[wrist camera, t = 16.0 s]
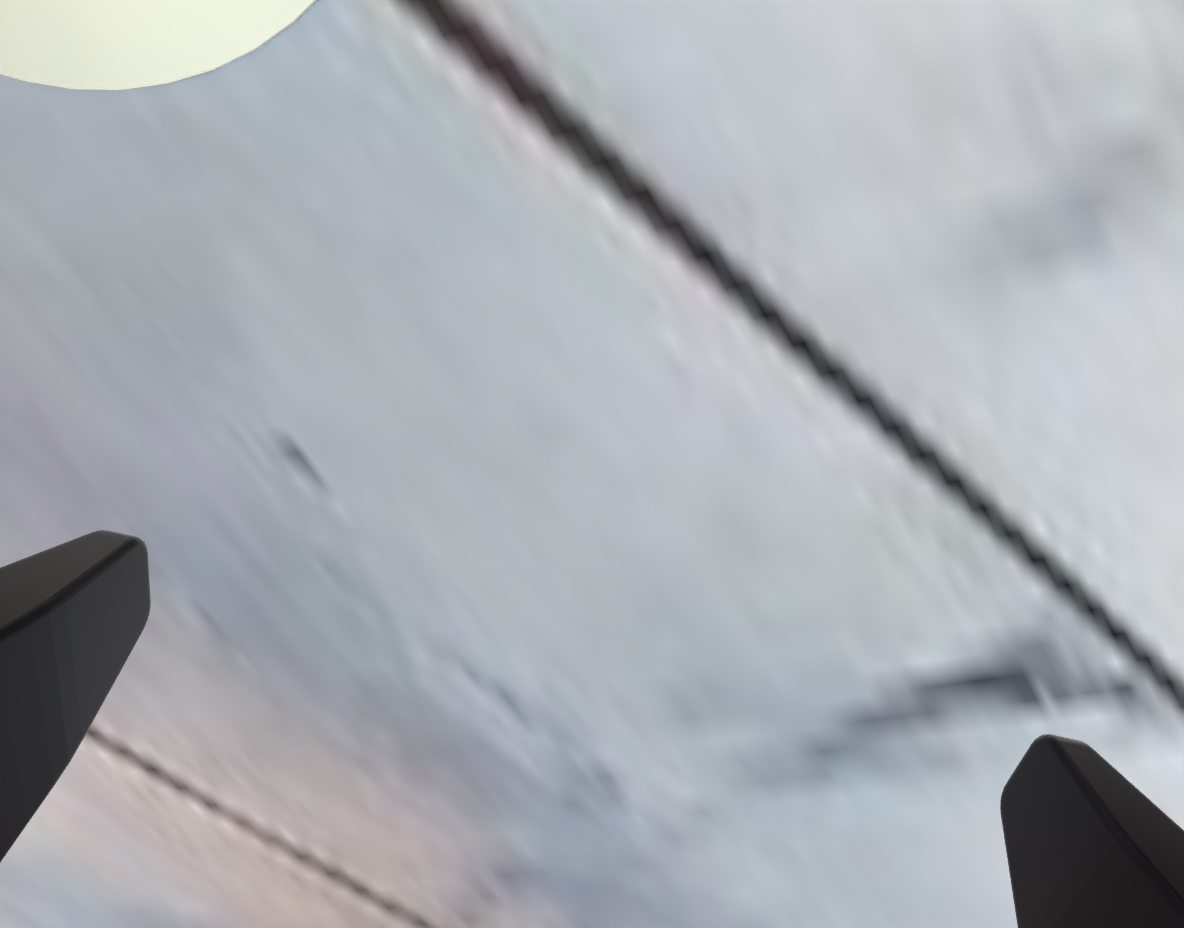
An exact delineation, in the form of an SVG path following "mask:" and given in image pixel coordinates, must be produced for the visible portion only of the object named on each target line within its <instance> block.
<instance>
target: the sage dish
mask: <svg viewBox="0 0 1184 928" xmlns="http://www.w3.org/2000/svg"><path fill="white" fill-rule="evenodd" d="M317 1H318V0H0V74H2V75H6V76H9V77H12V78H16V79H19V80H23V81H27V82H33V83H39V84H45V85H51V86H58V87H64V88H70V89H102V90H122V89H130V88H137V87H145V86H152V85H159V84H166V83H171V82H175V81H178V80H182V79H185V78H188V77H192V76H195V75H198V74H202V73H205V72H208V71H211V70H215V69H218V68H220V67H222V66H224V65H226V64H228V63H230V62H232V61H234V60H236V59H238V58H240V57H242V56H244V55H246V54H248V53H250V52H252V51H255V50H257V49H259V48H260V47H261V46H263V45H264V44H266V43H267V42H268V41H270V40H271V39H273V38H274V37H275V36H277V35H278V34H279V33H281V32H282V31H284V30H285V29H286V28H288V27H289V26H291V25H292V24H293V23H295V22H296V21H297V20H298V19H299V18H300V17H301V16H302V15H303V14H304V13H305V12H306V11H307V10H308V9H309V8H310V7H311V6H312V5H313V4H314V3H315V2H317Z"/></svg>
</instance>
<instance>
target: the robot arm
mask: <svg viewBox="0 0 1184 928" xmlns="http://www.w3.org/2000/svg"><path fill="white" fill-rule="evenodd" d="M149 612H150V586H149V568H148V553H147V547H146V545H145V543H144V542H143V541H142V540H141V539H139V538H137V537H134V536H129V535H125V534H120V533H115V532H111V531H103V530H101V531H96V532H92V533H90V534H87V535H84V536H82V537H79V538H77V539H74V540H71V541H69V542H66V543H64V544H61V545H58V546H56V547H53V548H51V549H48V550H45V551H43V552H40V553H38V554H35V555H32V556H30V557H27V558H25V559H22V560H20V561H17V562H14V563H12V564H9V565H7V566H4V567H1V568H0V862H1V860H2V859H3V858H4V856H5V855H6V853H7V852H8V850H9V849H10V848H11V846H12V845H13V843H14V842H15V840H16V839H17V838H18V836H19V835H20V833H21V832H22V831H23V829H24V828H25V826H26V825H27V823H28V822H29V821H30V819H31V818H32V816H33V815H34V813H35V812H36V811H37V809H38V808H39V806H40V805H41V803H42V802H43V801H44V799H45V798H46V796H47V795H48V793H49V792H50V791H51V789H52V788H53V786H54V785H55V783H56V782H57V780H58V779H59V777H60V776H61V774H62V773H63V771H64V770H65V768H66V767H67V765H68V764H69V762H70V761H71V759H72V757H73V755H74V754H75V752H76V750H77V749H78V747H79V745H80V743H81V742H82V740H83V738H84V736H85V735H86V733H87V731H88V729H89V727H90V726H91V724H92V722H93V720H94V718H95V716H96V715H97V713H98V711H99V709H100V707H101V706H102V704H103V702H104V700H105V698H106V696H107V695H108V693H109V691H110V689H111V687H112V685H113V684H114V682H115V680H116V678H117V676H118V675H119V673H120V671H121V669H122V667H123V665H124V664H125V662H126V660H127V658H128V656H129V655H130V653H131V651H132V649H133V647H134V645H135V644H136V642H137V640H138V638H139V636H140V635H141V633H142V631H143V629H144V627H145V625H146V622H147V619H148V616H149ZM1000 809H1001V818H1002V825H1003V831H1004V838H1005V845H1006V851H1007V858H1008V865H1009V871H1010V878H1011V885H1012V891H1013V898H1014V904H1015V911H1016V918H1017V924H1018V928H1184V830H1183V829H1182V828H1180V827H1179V826H1178V825H1177V824H1176V823H1175V822H1174V821H1173V820H1171V819H1170V818H1169V817H1168V816H1167V815H1166V814H1165V813H1164V812H1163V811H1161V810H1160V809H1159V808H1158V807H1157V806H1156V805H1155V804H1154V803H1153V802H1151V801H1150V800H1149V799H1148V798H1147V797H1146V796H1145V795H1144V794H1143V793H1141V792H1140V791H1139V790H1138V789H1137V788H1136V787H1135V786H1134V785H1132V784H1131V783H1130V782H1129V781H1128V780H1127V779H1126V778H1125V777H1124V776H1122V775H1121V774H1120V773H1119V772H1118V771H1117V770H1116V769H1115V768H1114V767H1112V766H1111V765H1110V764H1109V763H1108V762H1107V761H1106V760H1105V759H1104V758H1102V757H1101V756H1100V755H1099V754H1098V753H1097V752H1096V751H1095V750H1093V749H1092V748H1091V747H1090V746H1089V745H1087V744H1085V743H1084V742H1081V741H1078V740H1073V739H1069V738H1064V737H1060V736H1055V735H1049V734H1047V735H1042V736H1040V737H1038V738H1037V739H1035V740H1034V742H1033V743H1032V744H1031V746H1030V747H1029V749H1028V751H1027V752H1026V754H1025V755H1024V757H1023V758H1022V760H1021V761H1020V763H1019V765H1018V766H1017V768H1016V769H1015V771H1014V772H1013V774H1012V775H1011V777H1010V779H1009V780H1008V782H1007V783H1006V785H1005V787H1004V790H1003V793H1002V796H1001V807H1000Z"/></svg>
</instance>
